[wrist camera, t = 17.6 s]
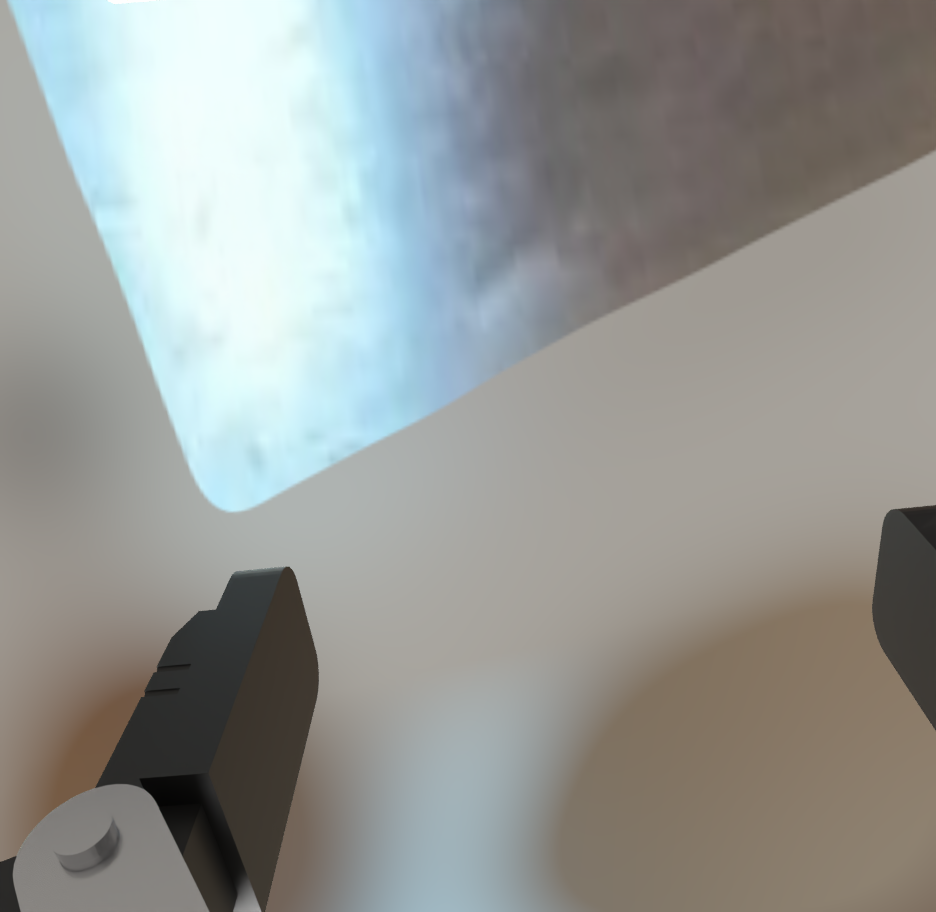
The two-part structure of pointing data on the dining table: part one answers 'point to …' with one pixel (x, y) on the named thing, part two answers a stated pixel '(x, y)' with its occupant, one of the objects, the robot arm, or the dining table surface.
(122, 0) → the seat plate
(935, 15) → the dining table surface
